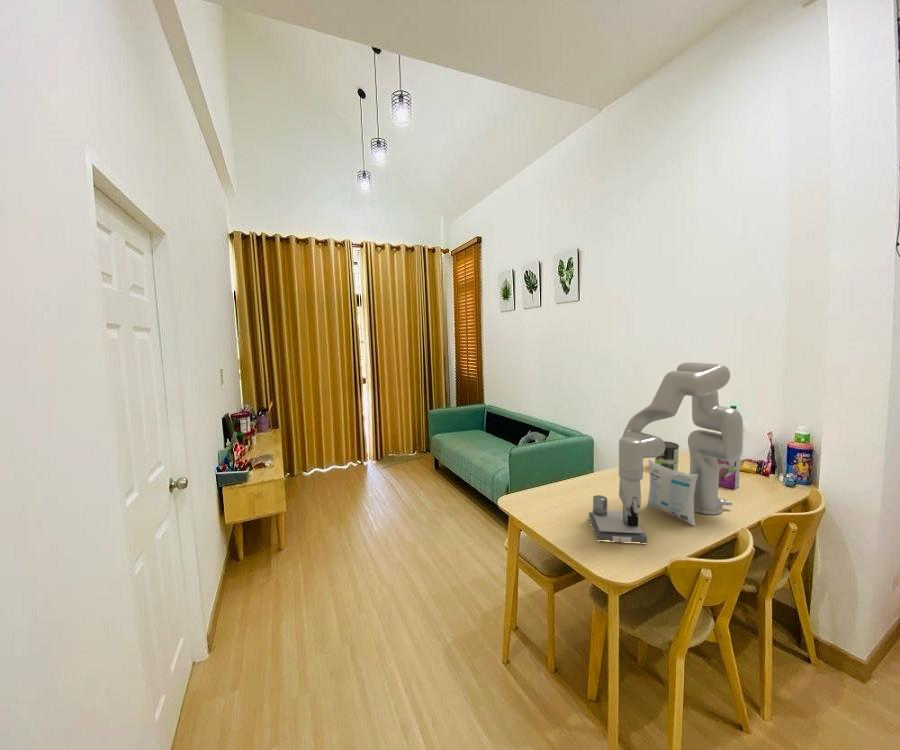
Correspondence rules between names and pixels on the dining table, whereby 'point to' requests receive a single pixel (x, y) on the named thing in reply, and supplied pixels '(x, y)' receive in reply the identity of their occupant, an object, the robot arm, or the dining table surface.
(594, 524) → the scale
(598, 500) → the cylinder
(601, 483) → the dining table surface
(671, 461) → the coffee can
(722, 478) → the candy bar box
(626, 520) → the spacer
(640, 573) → the dining table surface
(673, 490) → the pouch
